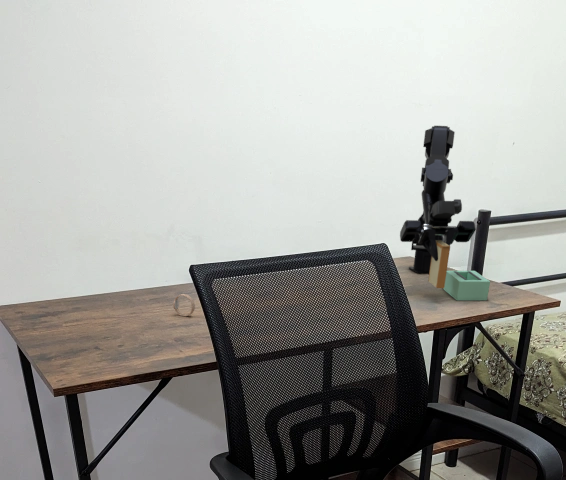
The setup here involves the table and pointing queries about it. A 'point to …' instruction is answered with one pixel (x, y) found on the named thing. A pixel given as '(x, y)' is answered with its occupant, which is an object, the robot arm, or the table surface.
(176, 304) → the beige ring
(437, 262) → the toast
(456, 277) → the toaster
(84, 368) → the table surface
